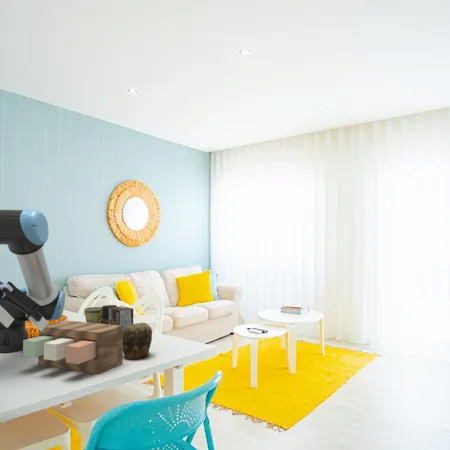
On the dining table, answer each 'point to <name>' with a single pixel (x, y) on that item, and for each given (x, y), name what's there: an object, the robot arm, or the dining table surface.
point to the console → (103, 333)
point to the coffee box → (121, 316)
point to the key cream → (57, 348)
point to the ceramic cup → (93, 314)
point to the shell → (137, 341)
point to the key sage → (35, 345)
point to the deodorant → (106, 313)
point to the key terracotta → (81, 351)
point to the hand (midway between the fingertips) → (26, 325)
